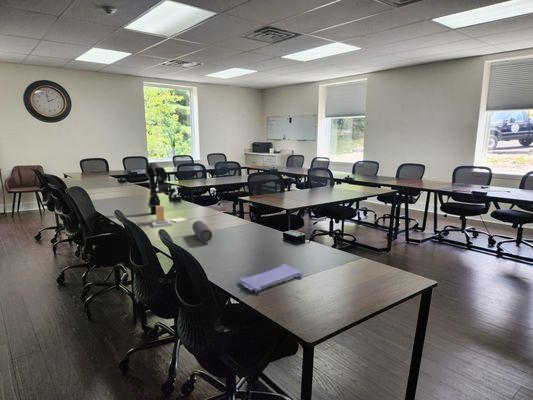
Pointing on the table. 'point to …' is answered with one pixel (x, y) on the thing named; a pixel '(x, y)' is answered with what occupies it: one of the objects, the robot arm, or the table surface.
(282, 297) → the table surface
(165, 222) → the dock
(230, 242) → the table surface
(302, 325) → the table surface
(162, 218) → the module
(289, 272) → the light purple flat block
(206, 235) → the bluetooth speaker
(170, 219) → the pad
